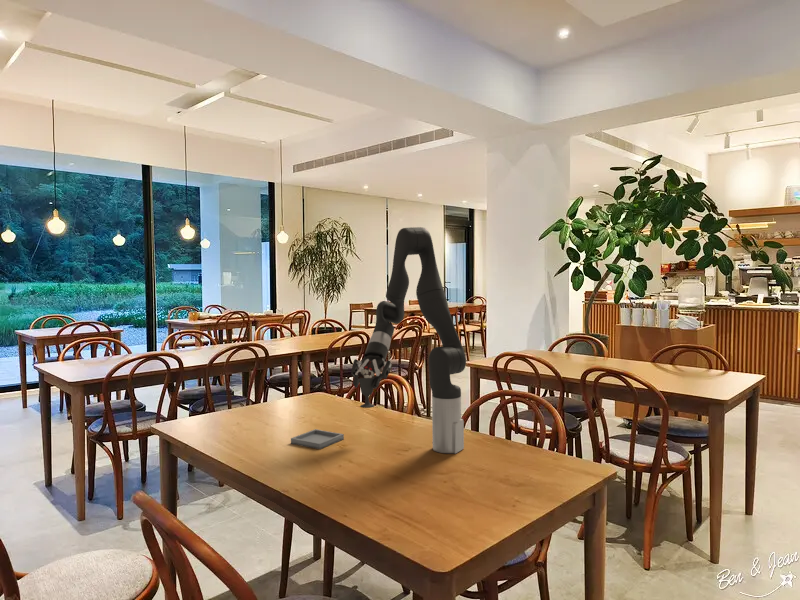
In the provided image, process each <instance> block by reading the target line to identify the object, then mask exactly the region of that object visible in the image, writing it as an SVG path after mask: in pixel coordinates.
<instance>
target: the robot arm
mask: <svg viewBox="0 0 800 600" xmlns="http://www.w3.org/2000/svg"><path fill="white" fill-rule="evenodd" d="M414 255H418V256H419V259H420V264H421V272H420V276H419V279H418V282H417V285H416V290H415V291H416V293H415V295H416V299H417V303H418V306H419V310H420V312H421V314H422V315H423V317H424V319H426V321H427V323H429V324H430V325H431V327H433V329H434V330H435V332H437V336H438V337H439V339H440V341H441V345H442V346H437V347H433V349H431V351H430V352H429V355H428V377H429V386H430V390H431V398H432V399H431V405H432V406H431V410H432V411H431V412H432V414H431V416H432V417H431V418H432V420H431V421H432V422H431V423H432V424H431V425H432V428H431V429H432V442H431V443H432V450H433V451H434V452H435V453H441V454H458V453H459V452H460V451H462V450H464V449H465V440H464V439H465V429H464V427H465V426H464V425H465V423H464V419H463V418H462V389H461V387H460V386H459V385H456V384H453V383H452V381H451V375H456V374H461V373H462V372H464V370H465V368H466V365H467V358H466V353H465V349H464V346H463V345H462V341H461V339H460V337H459V336H458V332H457V330H456V327H455V324H454V320H453V318H452V314H451V311H450V308H449V305H448V301H447V296H446V292H445V290H444V286H443V283H442V279H441V277H440V273H439V269H438V265H437V261H436V260H437V259H436V254H435V249H434V244H433V238H432V236H431V233H430V231H429V230H428V229H427V228H426V227H421V226H417V227H414V226H413V227H402V228H401V229H400V230H398V232H397V235H396V238H395V244H394V252H393V260H392V269H391V275H390V278H389V283H388V286H387V290H386V292H385V298H386V300H387V301H386V300H382V301H380V302H379V303H378V304H377V306H376V310H375V317H376V318H375V326H374V329H373V331H372V334H371V336H370V338H369V342H368V344H367V346H366V349H365V351H364V357H363V358H362V359H361V360H358V359H357V358H356V359H354V360H353V364H352V368H351V371H350V372H351V373H350V374H351V376H353V381H352V384H353V387H354V388H356V389H357V388H358V387H359V386H360V382H359V379H358V378H357V376H359V375H358V374H357V373H358V372H360V373H361V371H362V369H364V368H365V367H366V366H367V365H368V364H369V365H368V366H367V367H368V369H369V368H370V367H371V368H372V370H371V371H373V372H374V374H375V378H374V381H373V384H372V386H373V390H376V389H377V388H378V387H379V386H380V382H381V380H382V379H383V380H384V379H387V378H388V376H389V375H390V372H391V369H392V367H393V364H392V362H391V360H389V359H388V360H386V359H387V356H388V352H389V350H390V346H391V341H392V339H393V336H394V331H395V326H394V325H393V324H395V325H398V324H400V323H402V321H403V320H404V318H405V298H406V295H407V292H408V289H409V287H410V279H409V278H410V277H409V275H408V272H407V268H406V261H407V258H408V256H414ZM370 361H371V363H369V362H370ZM382 368H383V369H382ZM381 369H382V371H381Z"/></svg>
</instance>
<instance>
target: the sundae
mask: <svg viewBox="0 0 800 600" xmlns="http://www.w3.org/2000/svg"><path fill="white" fill-rule="evenodd" d="M369 363H371V361H370V362H369ZM368 365H369V364H368ZM368 365H367V366H368ZM367 366H366V367H365V368H364V369H362V371H361V373H360V372H358V373H357V374H358V375H359V376H357V378H358V379H359V388H360V389H359V390H360V393H361V394H362V395H363V396H364V398H365V401H364V404H361V405H360V406H359V407H360V408H363V409H371V408H374V407H375V406H376V405H375V404H373V403H371V402H370V396H371V395H372V394H373V392H374V388H373V386H372V384H373V381H374V378H375V376H376V374H375V373H374V372H373V371H371V370H372V368H371V367H370V368H369V369H368V367H367Z"/></svg>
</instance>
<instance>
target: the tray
mask: <svg viewBox="0 0 800 600" xmlns="http://www.w3.org/2000/svg"><path fill="white" fill-rule="evenodd" d="M344 439H345V437H344V434H343V433H340V432H335V431H334V432H332V431H328V430H321V429H317V428H316V429H315V428H314V429H313V430H309V431H307V432H304V433H301V434H299V435H296V436H293V437H291V438H290V444H291V445H295V446H301V447H306V448H311V449H316V450H322V449H324V447H325V448H326V447H329V446H331V445H333V444H336V443H338V442H341V441H343V440H344Z"/></svg>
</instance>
